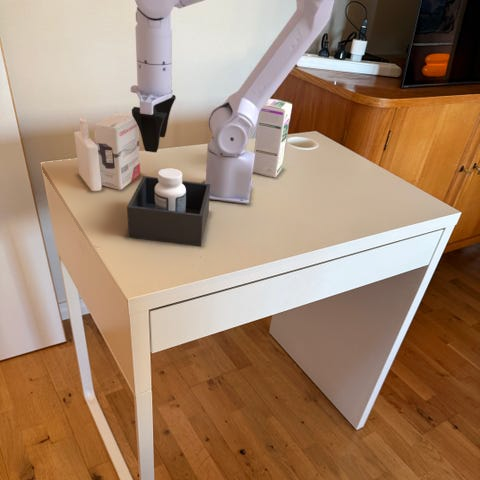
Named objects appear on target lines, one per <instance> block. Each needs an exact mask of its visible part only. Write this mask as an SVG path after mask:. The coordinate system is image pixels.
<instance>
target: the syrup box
mask: <svg viewBox="0 0 480 480" xmlns="http://www.w3.org/2000/svg"><path fill="white" fill-rule="evenodd" d="M292 108H293V103H292V102H289V101H286V100H283V99H282V100H281V99H275V98H270V99H269V100H268V101H267V103H266V104H265V105H264V107H263V108H262V109H261V111H260V112H259V115H258V119H257V123H256V134H255V141H254V142H255V143H254V150H253V153H255V157H254V165H253V173H255V174H257V175H261V176H266V177H271V178H276V177H277V176H278V175H279V174H280V172H281V171H282V170H283V166H284V160H285V153H286V147H287V141H288V134H289V128H290V121H291V116H292V115H291V114H292V110H293V109H292Z"/></svg>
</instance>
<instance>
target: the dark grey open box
mask: <svg viewBox="0 0 480 480" xmlns="http://www.w3.org/2000/svg"><path fill="white" fill-rule="evenodd" d="M157 183H159V181H158V176H157V177H155V176H147V175H142V178H141V180H140V181H139V183H138V185H137V187H136V189H135V190H134V193H133V194H132V197H131V198H130V201H129V202H128V204H127V206H126V214H127V215H126V216H127V217H126V218H127V231H128V238H131V239H140V240H148V241H157V242H164V243H173V244H181V245H188V246H189V245H190V246H196V247H197V246H198V247H201V246H202V243H203V239H204V235H205V231H206V226H207V222H208V216H209V211H210V200H211V199H210V184H204V183H205V182H204V183H203V182H194V181H188V180H182V184H183V185H184V186H185V188H186V213H185V212H177V211H169V210H161V209H155V186H156V184H157Z"/></svg>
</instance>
